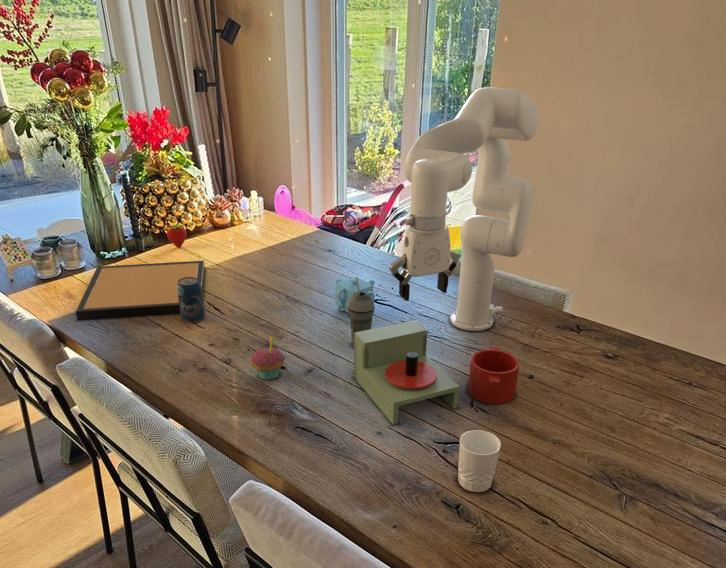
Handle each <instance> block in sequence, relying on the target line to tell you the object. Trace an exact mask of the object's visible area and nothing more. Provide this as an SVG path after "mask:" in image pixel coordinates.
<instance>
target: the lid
mask: <svg viewBox="0 0 726 568" xmlns="http://www.w3.org/2000/svg"><path fill="white" fill-rule="evenodd" d="M385 377H386V379H387V380H388V381H389V382H390V383H391V384H393V385H395V386H397V387H400V388H404V389H422V388H426V387H428V386H430V385H432V384H433V383H434V382H435V381H436V379H437V372H436V370H435V369H434V368H433V367H432V366H430V365H428V364H426V363H423V362H420V361H418V354H417V353H415V352H408V353H407V354H406V361H399V362H396V363H393V364H391V365H390V366H389V367H388V368H387V369H386V371H385Z"/></svg>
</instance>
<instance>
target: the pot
mask: <svg viewBox="0 0 726 568" xmlns="http://www.w3.org/2000/svg"><path fill="white" fill-rule="evenodd" d="M519 372H520V360H519V359H518V357H516V355H513V354H511V353H510V352H507V351H504V350H501V347H499V346H498V347H497V346H490V347H489V349H482V350H479V351H475V352H474V353H473V354H472V355H471V357H470V366H469V372H468V373H469V374H468V381H467V392H468V394H469V395H470V396H471V397H472V398H473V399H475V400H476V401H479V402H482V403H486V404H490V405H491V404H492V405H494V404H495V405H497V404H504V403H508V402H510V401H512V400H513V398H514V397H515V395H516V390H517V383H518V379H519V378H518V377H519Z"/></svg>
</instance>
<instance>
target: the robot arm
mask: <svg viewBox="0 0 726 568" xmlns="http://www.w3.org/2000/svg"><path fill="white" fill-rule="evenodd" d="M540 121H541V115H540V110H539V107H538V105H537V104H536V102H535V101H534V100H533V99H532V97H531V96H530V95H529V94H528V93H527V92H525V91H524V90H521V89H518V88H506V87H505V88H504V87H491V86H485V87H479V88H477V89H476V90H474V91H473V92H472V93H471V94H470V96H469V97H468V98H467V100H466V101H465V103H464V104H463V106H462V107H461V109H460V110H459V112H458V113H457V114H456V117H455V118H454V119H451V120H449V121H446V122H443V123H442V124H439V125H437V126H435V127H432V128H430V129H428V130H427V131H425V132H424V133H422V134H421V135H420V136H419V137H418V138H417V140H416V141H415V142H414V144H413V145H412V147H411V148H410V150H409V151H408V153H407V156H406V159H405V161H404V164H403V165H404V167H403V170H404V172H403V173H404V176H405V178H406V180H407V181H408V182H409V183H410V206H409V209H410V210H409V215H408V216H409V217H407V218H405V219H404V225H405V226H407V228H406V230H405V234H404V238H403V245H402V253H401V256H400V257H399V258H397V259H395V261H393V262H392V263H390V264H389V265H388V268H389V270H390V273H391V275H392V277H394V278H395V279H396V280H397V281H398V282H399V284H398V295H399V296H400V298H402V299H403V300H404V301H405V302H408V301H410V291H411V290H410V289H411V285H410V283H409V282H410V280H411V279H412V277H414V278H418V277H419V278H420V277H424V276H429V275H435V274H437V284H436V285H437V286H436V288H437V290H439V291H440V292H441V293H443V294H447V293H448V286H449V277H451V276H452V272H453V271H454V270H455V268H457V264H458V263H459V260H460V258H461V260H460V270H459V281H458V290H457V291H458V292H457V300H456V301H457V302H456V311H454V312H453V313H451V315H450V319H449V320H450V323H451V324H452V325H453V326H454V327H456V328H458V329H460V330H464V331H469V332H482V331H486V330H489V329H491V328H492V326H493V325H494V318H493V316H495V314H496V315H497V314H501V313H503V312H504V308H503V306H501V305H500V306H495V305H494V304H491V301H492V294H493V286H494V276H495V269H496V267H495V262H494V259H493V257H492V255H496V256H502V257H507V258H508V257H509V258H514V257H518V256H519V255H520V254H521V253H522V251H523V250H524V247H525V243H526V238H527V232H528V228H529V223H530V218H531V213H532V207H533V204H534V203H533V202H534V194H535V193H534V191H535V190H534V184H533V183H532V182H531V180H529V179H528V178H525V177H519V176H512V175H510V168H511V162H512V152H511V149H510V147H509V145H508V142H507V141H506V140H510V141H519V142H527V141H530V140H532V139H533V138H534V137H535V136H536V134H537V132H538V130H539V127H540ZM476 150H478V151H477V152H478V158H477V164H476V171H475V178H474V182H473V187H472V188H473V190H472V197H471V198H472V200H471V201H472V204H473V206H474V207H475V208H477V209H478V210H481V211H487V212H492V213H497V214H503V215H504V214H505V215H508V216H509V218H510V219H507V218H499V217H495V216H488V215H483V214H477V215H476V214H475V215H474V214H473V215H470V216H467V217H466V218H465V219H464V220H463V221H462V223H461V226H460V231H459V232H460V233H459V234H460V236H459V237H460V248H461V253H458V252H456V251H453V250H451V236H450V235H451V234H450V229H449V226H448V225H447V224H446V217H447V205H448V204H447V203H448V200H447V199H448V193H451V192H455V191H458V190H461V189H463V188H464V187H465V186H466V185H467V184H468V182H469V181H470V180H471V177H472V172H473V165H472V161H471V160H470V158H469V157H468V156H467V155H465V154H467V153H472V152H475V151H476ZM400 268H402V270H401V271H399V269H400Z"/></svg>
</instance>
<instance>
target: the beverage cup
mask: <svg viewBox="0 0 726 568" xmlns="http://www.w3.org/2000/svg"><path fill="white" fill-rule="evenodd" d="M355 277H356V282H357V291H358V293H356V294H354V295H353V296H352V297H351V298H350V300H349V304H348V312H349V313H348V312H347V313H348V315H349V322H350V324H349V325H350V333H351V342H352V347H353V348H354V333H355V332H360V331H365V330H370V329H372V323H373V316H374V312H375V301H374V302H373V299H372V298H371V297H370V295H368V294H367V293H364V292H360V291H359V283H358V278H359V277H358V276H355Z"/></svg>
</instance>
